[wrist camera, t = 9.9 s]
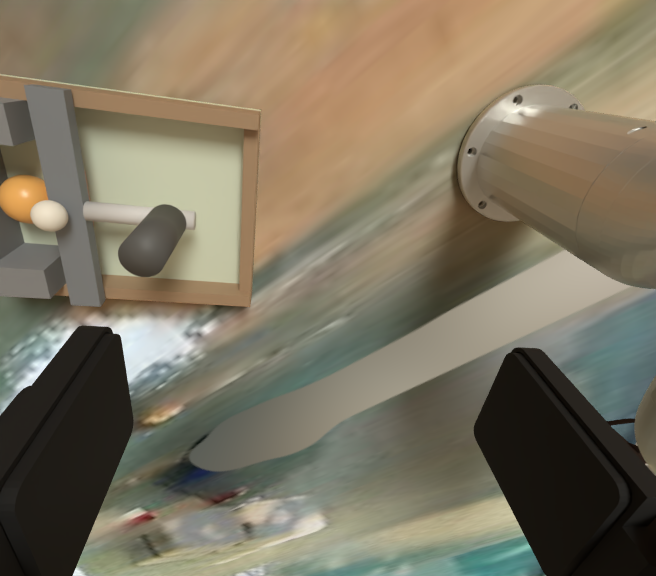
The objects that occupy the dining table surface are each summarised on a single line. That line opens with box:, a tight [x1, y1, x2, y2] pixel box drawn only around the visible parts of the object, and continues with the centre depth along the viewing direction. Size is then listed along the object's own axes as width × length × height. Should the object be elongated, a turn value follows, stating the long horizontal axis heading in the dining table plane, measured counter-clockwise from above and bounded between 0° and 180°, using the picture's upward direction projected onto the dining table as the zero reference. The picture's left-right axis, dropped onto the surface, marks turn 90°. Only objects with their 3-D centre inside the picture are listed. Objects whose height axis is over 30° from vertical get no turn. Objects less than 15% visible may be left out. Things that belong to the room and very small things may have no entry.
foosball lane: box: [0, 74, 261, 307], centre depth 34 cm, size 22×18×6 cm
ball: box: [0, 175, 48, 224], centre depth 32 cm, size 4×4×4 cm
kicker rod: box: [24, 84, 196, 307], centre depth 30 cm, size 12×18×11 cm, turn 172°
